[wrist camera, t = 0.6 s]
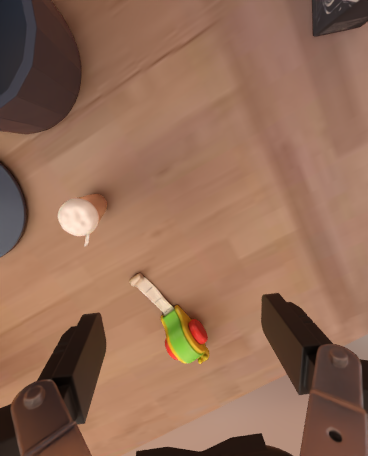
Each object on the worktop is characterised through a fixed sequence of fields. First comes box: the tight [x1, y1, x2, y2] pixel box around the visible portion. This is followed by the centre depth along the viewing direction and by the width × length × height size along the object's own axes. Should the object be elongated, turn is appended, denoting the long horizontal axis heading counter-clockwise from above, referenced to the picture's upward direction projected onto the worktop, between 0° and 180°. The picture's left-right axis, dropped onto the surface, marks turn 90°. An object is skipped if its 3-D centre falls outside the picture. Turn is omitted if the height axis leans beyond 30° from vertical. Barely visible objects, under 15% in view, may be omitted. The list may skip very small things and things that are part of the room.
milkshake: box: [58, 194, 107, 246], centre depth 32 cm, size 4×5×10 cm
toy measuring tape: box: [129, 273, 209, 364], centre depth 40 cm, size 6×19×7 cm, turn 37°
